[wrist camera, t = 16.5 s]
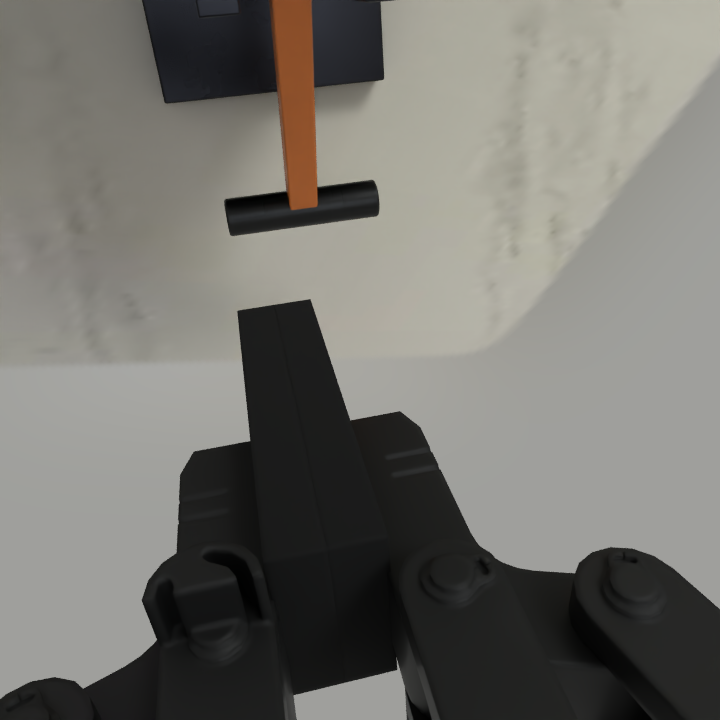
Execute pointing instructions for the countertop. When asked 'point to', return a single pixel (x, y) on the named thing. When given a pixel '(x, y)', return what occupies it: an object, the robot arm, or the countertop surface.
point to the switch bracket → (256, 46)
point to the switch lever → (298, 142)
